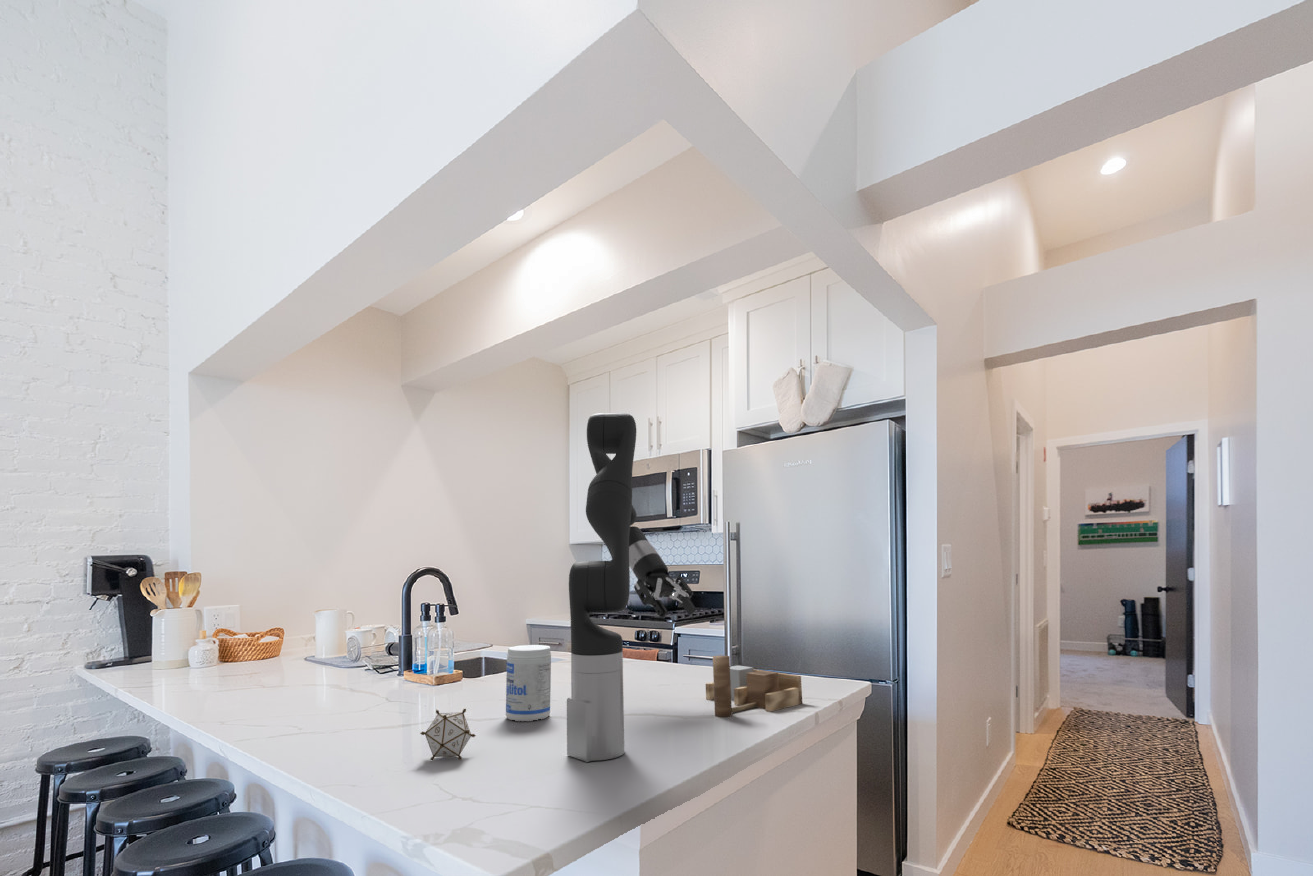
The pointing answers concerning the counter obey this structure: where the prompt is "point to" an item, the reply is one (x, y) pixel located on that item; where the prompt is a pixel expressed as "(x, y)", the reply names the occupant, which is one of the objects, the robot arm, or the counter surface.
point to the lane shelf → (773, 701)
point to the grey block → (738, 677)
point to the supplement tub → (528, 682)
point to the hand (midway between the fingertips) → (679, 614)
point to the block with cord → (756, 687)
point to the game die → (448, 734)
